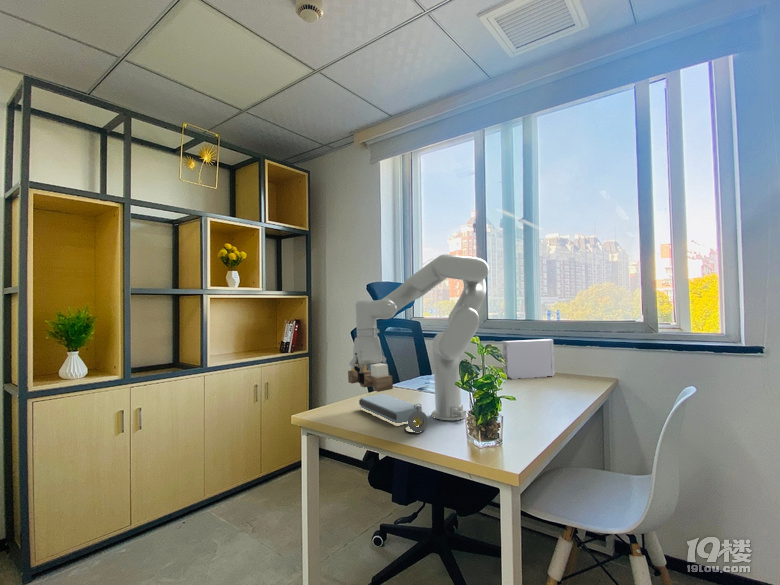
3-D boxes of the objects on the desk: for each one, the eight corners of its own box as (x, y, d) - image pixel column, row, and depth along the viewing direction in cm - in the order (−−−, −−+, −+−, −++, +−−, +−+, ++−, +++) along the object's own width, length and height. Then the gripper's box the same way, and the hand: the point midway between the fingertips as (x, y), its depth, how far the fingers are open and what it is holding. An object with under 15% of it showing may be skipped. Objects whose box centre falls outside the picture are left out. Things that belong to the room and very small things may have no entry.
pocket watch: (412, 426, 133) (411, 397, 133) (432, 431, 128) (431, 400, 128) (397, 433, 127) (396, 402, 127) (418, 438, 121) (417, 406, 122)
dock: (422, 420, 139) (421, 406, 139) (395, 427, 132) (395, 412, 132) (383, 405, 160) (383, 393, 161) (359, 410, 154) (359, 398, 154)
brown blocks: (392, 388, 134) (392, 376, 135) (378, 391, 131) (377, 378, 131) (361, 379, 153) (361, 368, 153) (348, 382, 149) (347, 370, 150)
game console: (556, 376, 208) (554, 339, 208) (508, 379, 204) (507, 342, 204) (550, 374, 213) (548, 338, 214) (503, 377, 210) (502, 341, 210)
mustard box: (366, 370, 148) (366, 360, 148) (356, 372, 145) (356, 361, 145) (361, 369, 151) (360, 359, 151) (351, 370, 149) (350, 360, 149)
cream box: (388, 375, 135) (387, 364, 135) (377, 377, 133) (377, 366, 133) (381, 374, 139) (380, 363, 139) (371, 376, 136) (370, 364, 136)
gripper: (381, 331, 150) (383, 377, 150) (341, 335, 141) (343, 384, 140) (391, 331, 144) (394, 379, 144) (351, 336, 134) (353, 387, 134)
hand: (369, 381), depth 142 cm, fingers closed on brown blocks, 6 cm apart
